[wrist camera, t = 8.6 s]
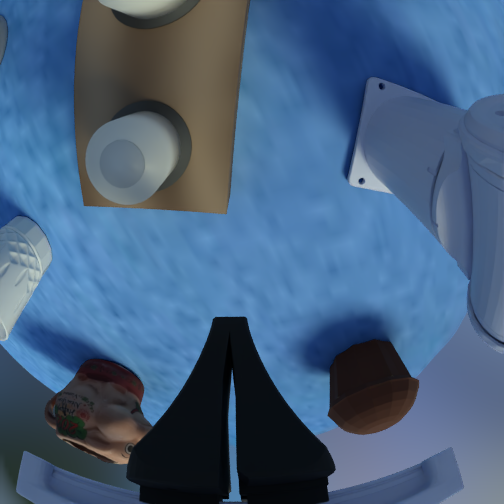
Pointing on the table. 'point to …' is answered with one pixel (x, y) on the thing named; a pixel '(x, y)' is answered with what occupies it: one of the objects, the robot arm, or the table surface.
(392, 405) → the muffin
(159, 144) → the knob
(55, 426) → the brown ceramic rounded pot
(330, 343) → the table surface
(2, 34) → the mug
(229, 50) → the knob strip
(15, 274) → the white cup
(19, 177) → the table surface
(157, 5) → the knob middle
